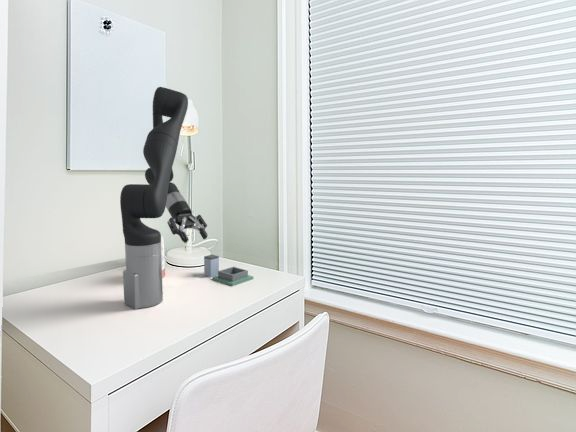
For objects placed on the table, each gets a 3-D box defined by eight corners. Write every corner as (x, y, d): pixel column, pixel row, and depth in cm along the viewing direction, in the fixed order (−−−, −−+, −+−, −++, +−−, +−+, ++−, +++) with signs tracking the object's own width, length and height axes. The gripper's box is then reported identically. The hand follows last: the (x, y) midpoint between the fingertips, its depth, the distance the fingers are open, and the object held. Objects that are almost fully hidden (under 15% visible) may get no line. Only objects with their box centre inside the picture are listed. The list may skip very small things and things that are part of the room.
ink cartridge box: (151, 275, 118) (150, 234, 116) (165, 275, 117) (164, 235, 116) (140, 283, 109) (138, 239, 107) (155, 284, 109) (154, 240, 107)
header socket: (232, 286, 109) (232, 277, 108) (212, 279, 115) (212, 271, 114) (253, 278, 116) (253, 270, 116) (233, 272, 122) (233, 265, 122)
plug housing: (210, 277, 117) (210, 258, 116) (204, 275, 119) (204, 256, 118) (218, 275, 120) (218, 256, 119) (212, 273, 122) (212, 254, 121)
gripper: (164, 201, 120) (184, 236, 115) (196, 199, 132) (216, 231, 126) (156, 214, 124) (175, 249, 119) (188, 211, 135) (207, 242, 130)
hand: (196, 239), depth 123 cm, fingers open, 8 cm apart
